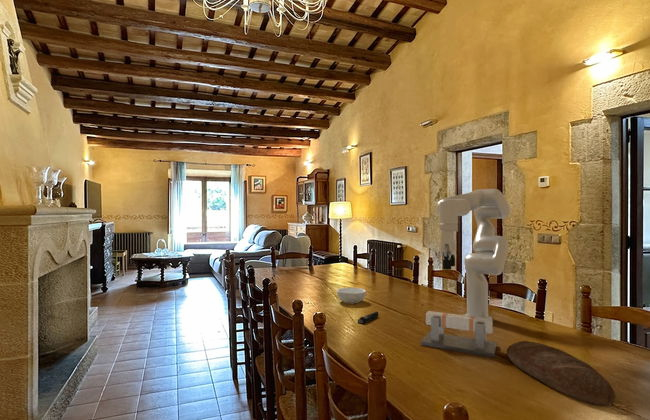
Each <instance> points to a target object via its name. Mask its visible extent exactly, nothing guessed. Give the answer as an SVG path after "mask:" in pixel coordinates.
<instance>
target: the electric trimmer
mask: <svg viewBox="0 0 650 420" xmlns="http://www.w3.org/2000/svg"><path fill="white" fill-rule="evenodd" d="M379 314H380V313H379V311H375V312H371V313H369V314H367V315H364V316H361V317H360V318H358V320H357V324H358V325H365V324H366V323H368V322H370V321H374V320H375V319H376V318H378V317H379Z"/></svg>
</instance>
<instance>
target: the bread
mask: <svg viewBox="0 0 650 420" xmlns="http://www.w3.org/2000/svg"><path fill="white" fill-rule="evenodd" d="M506 355H507V357H508V359H509V360H510V361H511V362H512V364H513V365H514V366H515V367H517V368H518V369H520V370H522V371H523V372H525V373H526V374H527V375H529V376H531V377H532V378H534V379H536V380H538V381H539V382H541V383H543V384H544V385H546V386H549V387H550V388H552V389H554V390H555V391H558V392H559V393H562V394H564V395H566V396H568V397H571V398H573V399H576V398H577V400H579V399H580V401H582V400H583V401H582V402H585V401H586V402H585V403H588V402H589V404H592V405H597V406H605V405H606V404H607V405H610V404H612V403H614V401H615V399H616V393H615V390H614V389H613V387H612V385H611V383H610V382H609V381H608V380H607V379H606V378H605V377H604V376H603V375H602V374H601V373H600V372H599V371H598V370H596V369H595V368H594V367H593V366H592V365H590V364H588V363H587V362H585V361H583V360H581V359H579V358H577V357H575V356H573V355H571V354H570V353H568V352H566V351H564V350H562V349H560V348H557V347H553V346H549V345H546V344H543V343H539V342H534V341H528V340H522V341H517V342H513V343H512V344H510V345H509V346H508V347H507V348H506Z"/></svg>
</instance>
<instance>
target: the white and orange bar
mask: <svg viewBox="0 0 650 420" xmlns="http://www.w3.org/2000/svg"><path fill="white" fill-rule="evenodd" d="M431 317H432V318H439V327H444V329H446V328H448V329H455V330H461V331H468V332H474V333H475V323H477V324H484V333H486V334H490V335H492V334H493V329H494V328H493V327H494V325H493V322H494V321H493V318H492V319H489V318H481V317H475V316H465V315H464V314H458V313H457V314H456V313H449V312H441V311H433V310H428V311H427V312H426V313H425V325H426V326H431Z"/></svg>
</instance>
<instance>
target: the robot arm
mask: <svg viewBox="0 0 650 420" xmlns="http://www.w3.org/2000/svg"><path fill="white" fill-rule="evenodd" d="M436 211H437V213H438V214H439V216H438V217H439V232H441V233H440V249H439V250H440V251H439V252H440V254H441V255H443V257H442V269H443V270H450V271H451V270H452V267H456V256H455V255H456V254H455V253H456V249H457V248H456V247H457V246H456V245H457V244H456V243H457V240H456V239H457V238H456V232H459V225H458V224H459V219H458V218H459V217H462V216H466V215H468V214H469V213H470V211H471V212H473V214H474V218H475V222H476V225H477V226H476V227H477V229H476V231H475V233H476V234H475V236H474V239H473V243H472V250H473V253H469V254H467V255H466V256H465V257H464V261H463V262H464V268H465V275H466V313H464V314H463V315H465V316H475V317H481V318H489V319H493V318H492V316H491V315H489V283H488V280H487V278H486V276H485V275H493V276H499V275H501V274H502V273H503V271H504V268H505V264H506V260H507V255H508V251H509V241H508V239H507V238H506V237H505V236H503V235H502V236H501V235H496V234H495V233H496V228H495V225H493V223H492V222H491V221H490V219H496V220H497V219H504V220H505V219H506V218H509V216H510V214H511V207H510V204H509V202H508V200H507V199H506V198H505V196H504V194H503V192H501V190H499V189H497V188H482V189H475V190H472V191H469V192H466V193H461V194H457V195H453V196H448V197H444V198H441V199H440V200H439V201H437V204H436ZM474 252H475V253H474Z"/></svg>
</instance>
